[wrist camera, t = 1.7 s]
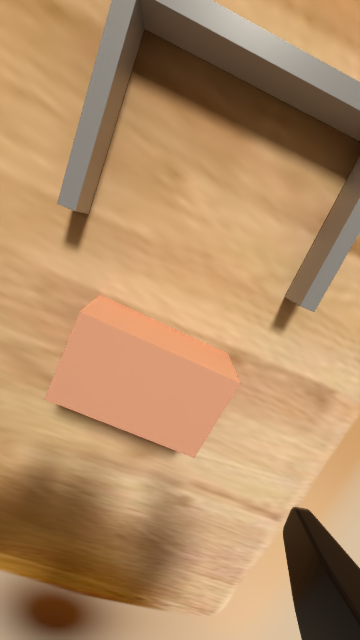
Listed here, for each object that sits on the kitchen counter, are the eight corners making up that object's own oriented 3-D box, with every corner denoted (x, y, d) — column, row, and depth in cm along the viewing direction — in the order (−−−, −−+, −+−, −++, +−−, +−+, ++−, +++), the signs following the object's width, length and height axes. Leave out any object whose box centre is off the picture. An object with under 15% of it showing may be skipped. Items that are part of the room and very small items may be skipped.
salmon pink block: (190, 414, 23) (194, 457, 18) (70, 365, 21) (44, 399, 17) (227, 352, 21) (240, 383, 17) (100, 294, 20) (79, 311, 15)
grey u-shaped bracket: (297, 302, 20) (314, 311, 17) (73, 207, 18) (57, 203, 15) (389, 134, 17) (424, 118, 14) (132, -3, 15) (124, -48, 12)
